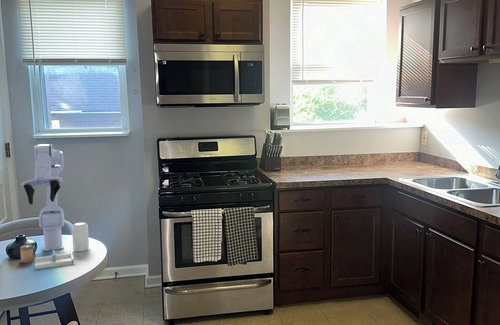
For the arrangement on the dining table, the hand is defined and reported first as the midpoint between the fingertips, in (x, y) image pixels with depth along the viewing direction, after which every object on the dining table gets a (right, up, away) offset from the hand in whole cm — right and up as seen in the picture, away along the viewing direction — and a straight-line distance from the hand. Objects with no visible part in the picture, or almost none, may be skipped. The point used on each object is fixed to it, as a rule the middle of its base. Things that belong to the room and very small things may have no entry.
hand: (41, 202), depth 165 cm
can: (+5, -24, +27) cm, 36 cm away
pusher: (0, -26, +11) cm, 28 cm away
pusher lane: (0, -26, +11) cm, 28 cm away
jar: (-12, -25, +13) cm, 31 cm away
